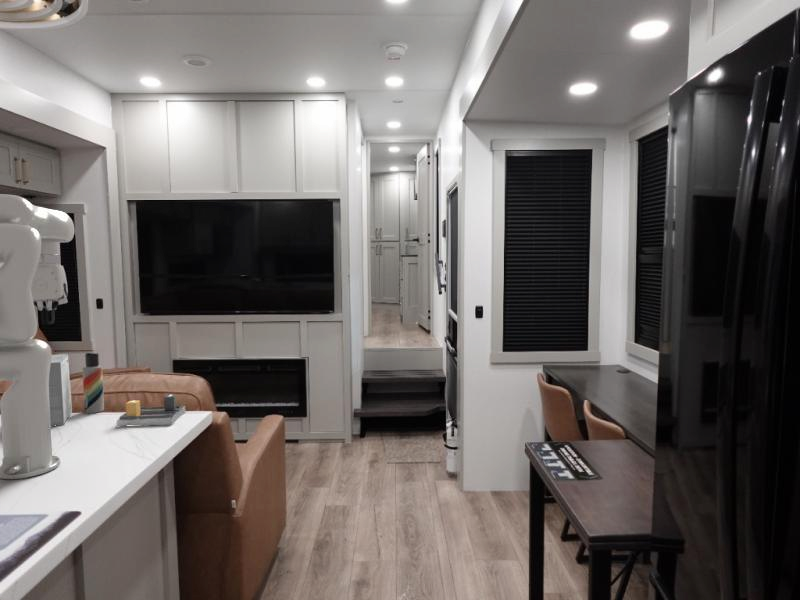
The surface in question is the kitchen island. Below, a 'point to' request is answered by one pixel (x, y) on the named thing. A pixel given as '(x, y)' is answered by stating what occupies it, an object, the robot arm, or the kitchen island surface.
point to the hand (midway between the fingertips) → (48, 323)
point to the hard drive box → (59, 390)
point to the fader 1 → (133, 408)
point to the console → (152, 416)
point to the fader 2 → (170, 402)
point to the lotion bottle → (93, 384)
